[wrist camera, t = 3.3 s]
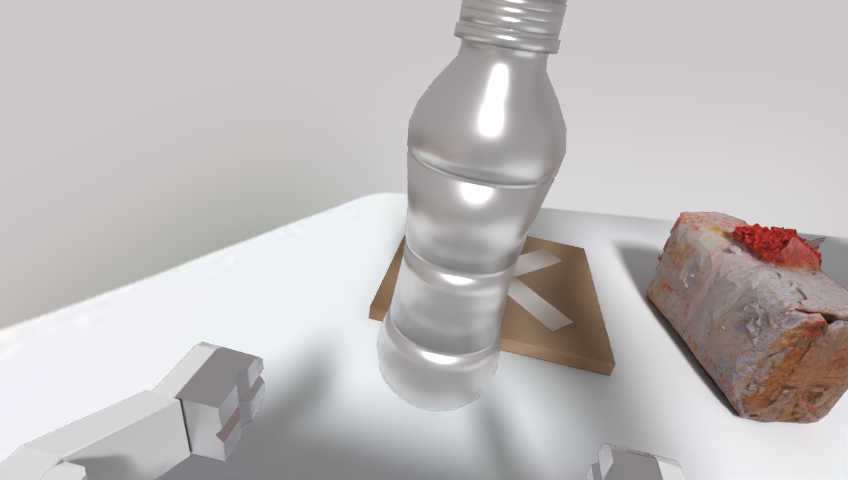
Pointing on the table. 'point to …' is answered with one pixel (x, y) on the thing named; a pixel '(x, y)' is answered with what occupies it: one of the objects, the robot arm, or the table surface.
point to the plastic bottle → (472, 200)
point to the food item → (756, 315)
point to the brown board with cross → (541, 307)
